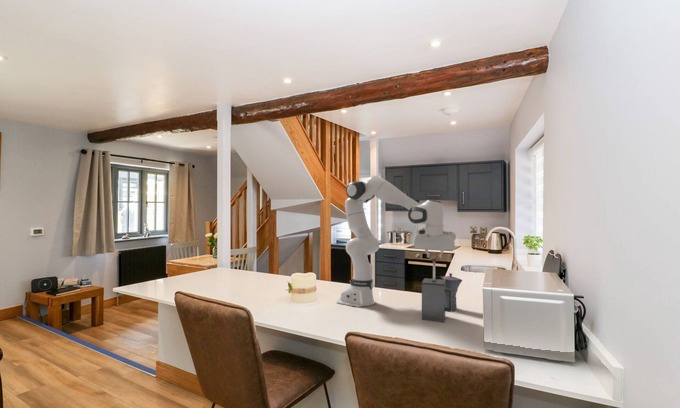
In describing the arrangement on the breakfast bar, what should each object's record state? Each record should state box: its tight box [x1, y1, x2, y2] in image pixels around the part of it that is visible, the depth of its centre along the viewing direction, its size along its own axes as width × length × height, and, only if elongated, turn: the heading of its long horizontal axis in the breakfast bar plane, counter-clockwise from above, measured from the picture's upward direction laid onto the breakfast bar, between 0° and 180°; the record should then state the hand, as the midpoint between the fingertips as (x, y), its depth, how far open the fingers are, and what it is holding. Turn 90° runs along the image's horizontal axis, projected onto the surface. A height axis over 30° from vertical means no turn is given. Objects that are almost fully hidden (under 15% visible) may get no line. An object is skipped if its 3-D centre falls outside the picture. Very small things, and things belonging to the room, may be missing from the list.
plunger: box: [429, 251, 439, 282], centre depth 181 cm, size 8×8×23 cm
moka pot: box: [435, 272, 463, 312], centre depth 198 cm, size 10×15×20 cm, turn 78°
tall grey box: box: [421, 277, 452, 323], centre depth 181 cm, size 14×11×19 cm
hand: (434, 258), depth 181 cm, fingers closed on plunger, 4 cm apart
